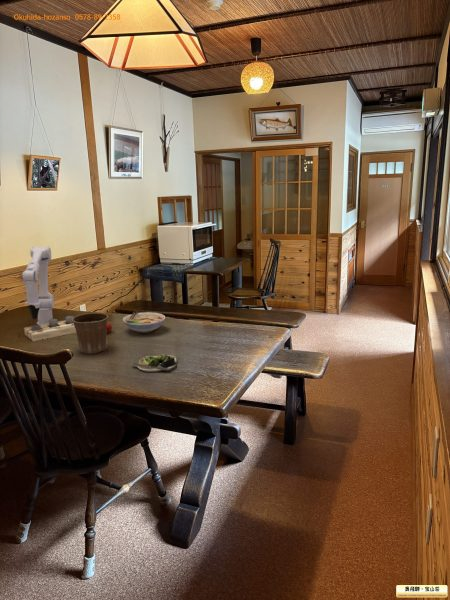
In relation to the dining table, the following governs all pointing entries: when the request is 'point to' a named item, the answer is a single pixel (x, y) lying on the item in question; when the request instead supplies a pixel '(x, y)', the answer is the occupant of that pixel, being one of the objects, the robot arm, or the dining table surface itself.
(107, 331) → the kendama
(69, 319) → the button
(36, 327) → the button
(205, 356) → the dining table surface
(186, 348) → the dining table surface
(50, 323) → the button
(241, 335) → the dining table surface
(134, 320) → the ramen bowl
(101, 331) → the plant pot
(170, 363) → the salad plate
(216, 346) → the dining table surface
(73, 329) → the button board
